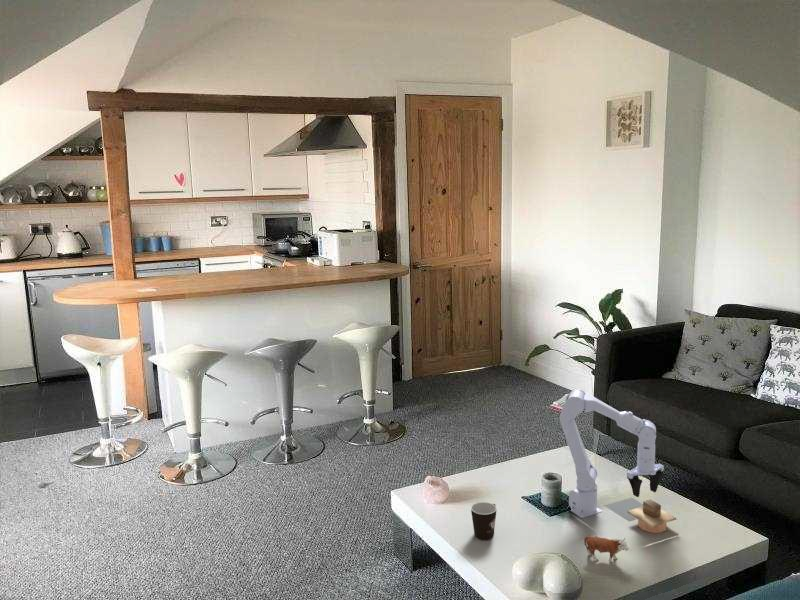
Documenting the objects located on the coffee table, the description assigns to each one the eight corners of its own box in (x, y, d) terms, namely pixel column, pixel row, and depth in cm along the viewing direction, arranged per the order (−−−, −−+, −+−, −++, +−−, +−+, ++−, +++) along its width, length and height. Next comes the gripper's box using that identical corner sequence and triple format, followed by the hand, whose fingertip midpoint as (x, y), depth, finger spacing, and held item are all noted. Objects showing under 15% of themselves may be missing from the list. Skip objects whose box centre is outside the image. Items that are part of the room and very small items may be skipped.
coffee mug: (480, 544, 222) (480, 516, 220) (466, 533, 230) (465, 506, 228) (509, 535, 227) (509, 507, 226) (494, 524, 235) (494, 497, 233)
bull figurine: (628, 567, 207) (628, 543, 205) (583, 559, 212) (583, 535, 211) (629, 560, 211) (630, 536, 209) (585, 552, 216) (585, 528, 215)
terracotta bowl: (651, 536, 224) (652, 525, 223) (632, 524, 232) (632, 513, 231) (672, 530, 227) (672, 519, 227) (652, 518, 235) (652, 508, 235)
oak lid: (651, 527, 222) (651, 514, 221) (627, 512, 232) (627, 500, 231) (676, 519, 226) (676, 506, 226) (651, 505, 236) (652, 493, 236)
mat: (629, 522, 233) (629, 521, 233) (603, 506, 245) (603, 505, 245) (657, 513, 238) (657, 512, 238) (631, 498, 250) (631, 497, 250)
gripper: (637, 465, 225) (636, 502, 228) (671, 457, 231) (669, 493, 233) (623, 457, 232) (622, 494, 234) (655, 449, 237) (654, 485, 239)
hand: (644, 493), depth 234 cm, fingers open, 7 cm apart
